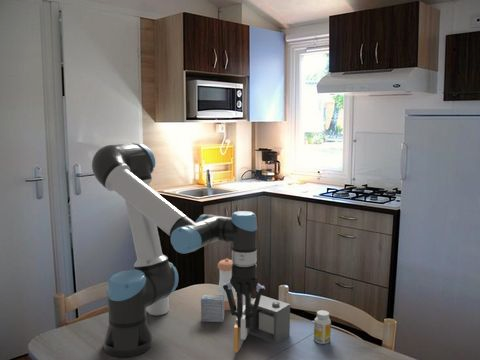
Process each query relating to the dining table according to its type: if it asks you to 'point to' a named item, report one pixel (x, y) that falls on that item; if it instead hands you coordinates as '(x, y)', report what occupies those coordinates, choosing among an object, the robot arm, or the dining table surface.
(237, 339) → the side door
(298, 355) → the dining table surface
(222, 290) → the pepper shaker
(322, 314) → the supplement bottle
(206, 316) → the medicine box
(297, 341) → the dining table surface
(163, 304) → the pill bottle
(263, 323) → the grey cabinet
